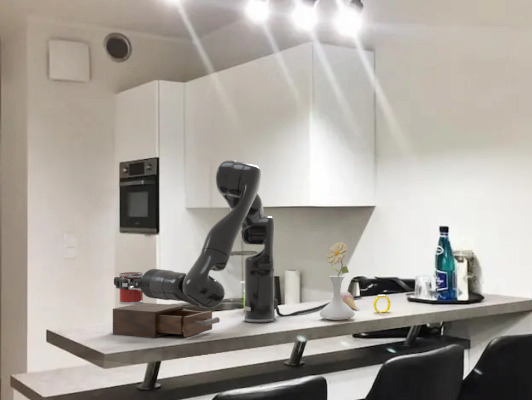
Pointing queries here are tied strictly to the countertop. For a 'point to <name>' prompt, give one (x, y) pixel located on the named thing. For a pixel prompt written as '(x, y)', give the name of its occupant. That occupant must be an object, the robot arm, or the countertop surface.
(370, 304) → the countertop surface
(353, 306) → the ice cream cone
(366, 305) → the countertop surface
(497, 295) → the countertop surface
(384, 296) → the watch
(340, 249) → the flower in vase
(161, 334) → the cabinet
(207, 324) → the drawer
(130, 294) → the tin can
